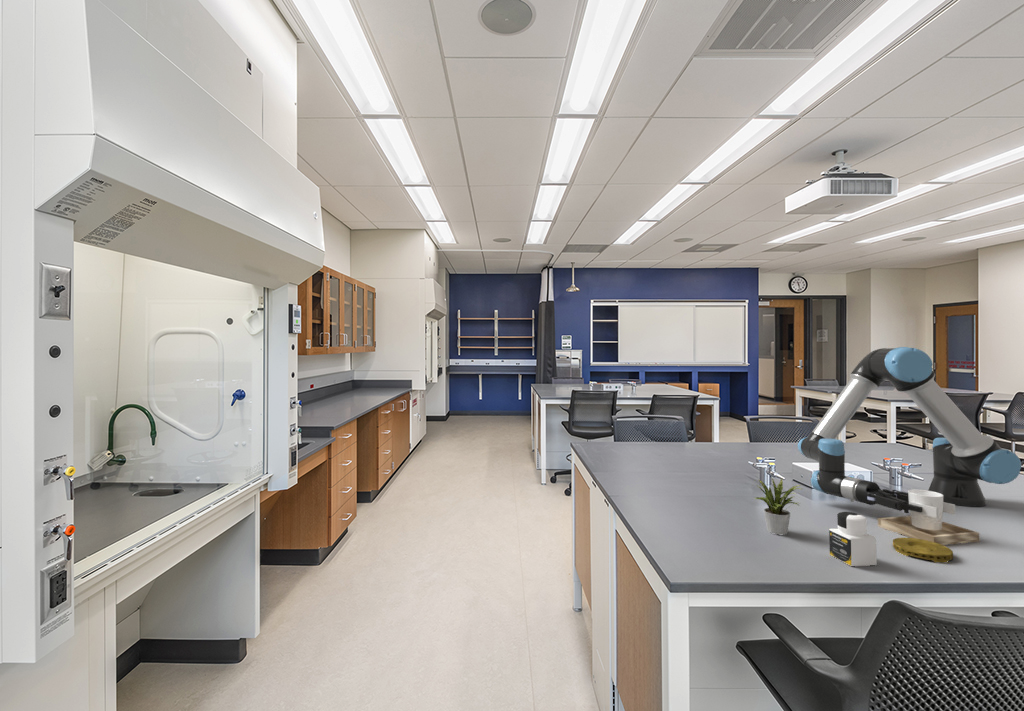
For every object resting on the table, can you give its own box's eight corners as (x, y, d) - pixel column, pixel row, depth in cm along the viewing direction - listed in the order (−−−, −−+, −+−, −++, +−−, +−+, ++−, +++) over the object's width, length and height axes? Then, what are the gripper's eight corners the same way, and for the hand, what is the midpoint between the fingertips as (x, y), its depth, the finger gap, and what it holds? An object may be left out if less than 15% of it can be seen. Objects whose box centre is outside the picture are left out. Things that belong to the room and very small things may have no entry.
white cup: (937, 533, 131) (936, 498, 132) (903, 524, 138) (902, 491, 139) (949, 528, 135) (948, 494, 135) (916, 520, 142) (915, 488, 142)
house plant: (813, 545, 128) (812, 486, 129) (757, 539, 133) (756, 482, 134) (801, 528, 142) (799, 475, 142) (750, 523, 147) (750, 471, 147)
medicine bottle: (828, 555, 122) (827, 509, 122) (854, 554, 123) (853, 509, 123) (851, 567, 115) (849, 518, 115) (877, 565, 115) (876, 517, 116)
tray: (919, 522, 146) (919, 514, 146) (979, 541, 130) (979, 532, 130) (877, 526, 143) (877, 518, 143) (933, 546, 127) (933, 537, 127)
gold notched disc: (890, 554, 123) (890, 546, 123) (895, 542, 131) (895, 534, 131) (952, 568, 114) (952, 559, 114) (953, 553, 123) (953, 545, 123)
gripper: (881, 498, 157) (966, 519, 136) (840, 505, 150) (924, 529, 129) (880, 476, 157) (966, 494, 136) (840, 482, 150) (923, 502, 129)
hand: (945, 511), depth 132 cm, fingers closed on white cup, 8 cm apart
